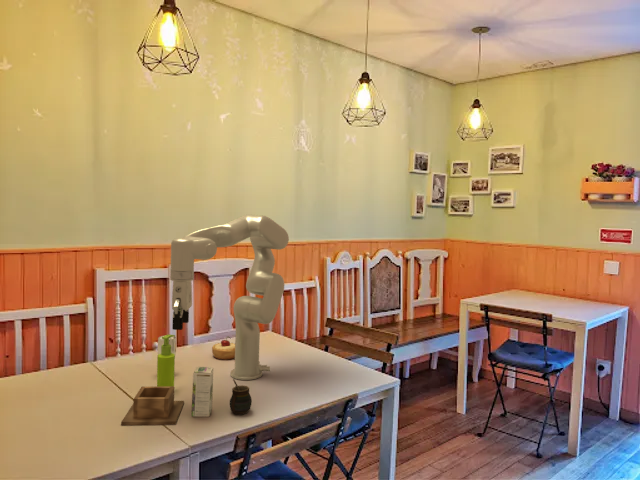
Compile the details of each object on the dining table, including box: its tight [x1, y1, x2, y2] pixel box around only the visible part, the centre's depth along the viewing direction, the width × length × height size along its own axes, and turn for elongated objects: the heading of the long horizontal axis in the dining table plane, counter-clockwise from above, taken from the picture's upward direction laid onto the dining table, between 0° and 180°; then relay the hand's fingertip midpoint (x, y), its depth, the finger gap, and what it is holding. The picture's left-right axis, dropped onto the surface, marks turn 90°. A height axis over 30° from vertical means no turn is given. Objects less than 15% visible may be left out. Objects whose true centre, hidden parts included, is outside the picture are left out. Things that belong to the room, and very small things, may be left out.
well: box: [120, 385, 185, 426], centre depth 158 cm, size 16×16×7 cm
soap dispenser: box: [156, 334, 176, 387], centre depth 177 cm, size 6×7×20 cm
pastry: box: [211, 336, 235, 361], centre depth 219 cm, size 12×12×9 cm
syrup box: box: [191, 366, 214, 418], centre depth 159 cm, size 6×6×14 cm
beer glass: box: [157, 335, 177, 376], centre depth 193 cm, size 7×7×15 cm
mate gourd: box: [229, 378, 252, 416], centre depth 162 cm, size 7×8×10 cm
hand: (180, 326), depth 166 cm, fingers open, 9 cm apart
